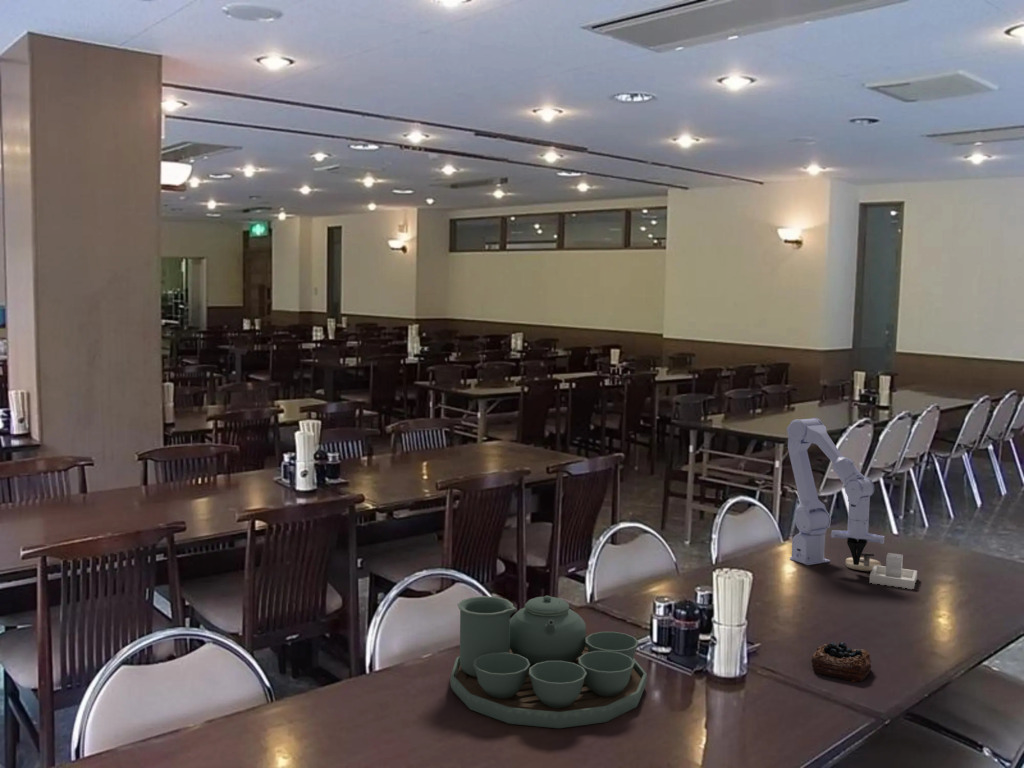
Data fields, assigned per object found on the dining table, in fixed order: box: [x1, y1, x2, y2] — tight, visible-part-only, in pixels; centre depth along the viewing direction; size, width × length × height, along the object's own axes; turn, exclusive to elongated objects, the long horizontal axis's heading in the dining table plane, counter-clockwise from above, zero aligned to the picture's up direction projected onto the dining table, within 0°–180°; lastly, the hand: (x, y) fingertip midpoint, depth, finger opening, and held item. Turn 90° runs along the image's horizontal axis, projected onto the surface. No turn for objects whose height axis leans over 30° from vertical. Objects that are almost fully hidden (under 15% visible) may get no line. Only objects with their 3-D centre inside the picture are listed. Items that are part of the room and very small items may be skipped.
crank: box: [844, 551, 882, 572], centre depth 278 cm, size 10×10×5 cm
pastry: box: [811, 642, 872, 683], centre depth 198 cm, size 11×12×6 cm
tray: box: [869, 565, 918, 590], centre depth 264 cm, size 12×12×2 cm
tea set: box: [449, 595, 648, 729], centre depth 188 cm, size 40×40×16 cm
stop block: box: [885, 552, 904, 578], centre depth 264 cm, size 4×4×7 cm
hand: (856, 564), depth 271 cm, fingers closed
